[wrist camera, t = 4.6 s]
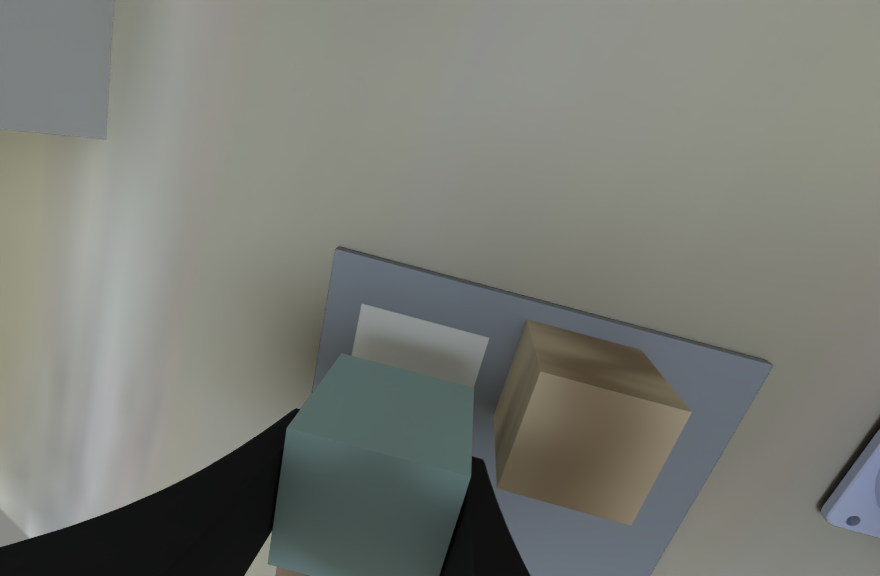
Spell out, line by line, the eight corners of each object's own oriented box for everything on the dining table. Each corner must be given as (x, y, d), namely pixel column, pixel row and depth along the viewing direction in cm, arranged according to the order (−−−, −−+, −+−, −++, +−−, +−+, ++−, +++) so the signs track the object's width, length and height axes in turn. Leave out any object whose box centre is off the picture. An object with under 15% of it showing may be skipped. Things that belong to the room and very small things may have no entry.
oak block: (641, 349, 16) (691, 412, 12) (598, 443, 17) (631, 525, 13) (526, 319, 16) (540, 371, 12) (493, 414, 17) (496, 488, 13)
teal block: (442, 493, 15) (428, 608, 11) (322, 461, 15) (267, 564, 11) (473, 387, 13) (470, 476, 10) (341, 353, 14) (286, 427, 10)
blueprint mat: (766, 360, 16) (774, 365, 15) (596, 654, 21) (598, 664, 21) (338, 246, 16) (334, 249, 16) (285, 567, 22) (281, 575, 21)
